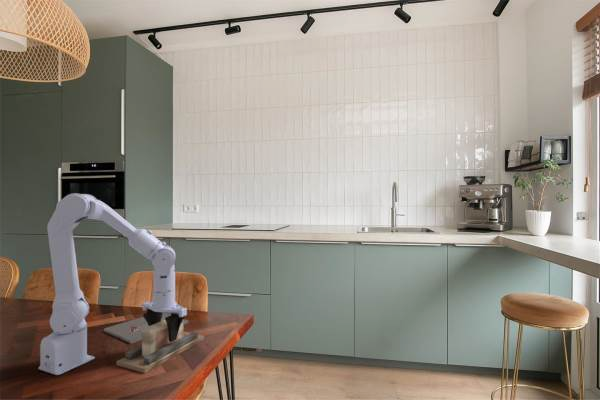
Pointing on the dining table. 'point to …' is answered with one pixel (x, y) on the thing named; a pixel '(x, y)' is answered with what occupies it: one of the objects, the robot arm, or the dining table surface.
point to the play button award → (125, 329)
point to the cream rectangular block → (157, 337)
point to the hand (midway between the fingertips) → (164, 338)
